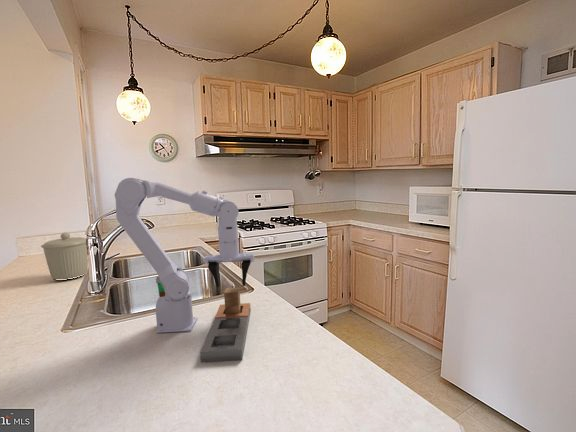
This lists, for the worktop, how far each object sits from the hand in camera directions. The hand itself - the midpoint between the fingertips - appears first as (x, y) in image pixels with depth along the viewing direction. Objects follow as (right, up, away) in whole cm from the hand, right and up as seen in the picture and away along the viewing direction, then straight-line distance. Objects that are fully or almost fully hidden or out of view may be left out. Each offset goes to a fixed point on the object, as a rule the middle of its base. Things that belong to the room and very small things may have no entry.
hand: (231, 285), depth 93 cm
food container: (-23, -9, +18) cm, 31 cm away
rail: (+1, -11, -9) cm, 14 cm away
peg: (+1, -10, -1) cm, 10 cm away
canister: (-84, -8, +50) cm, 98 cm away
